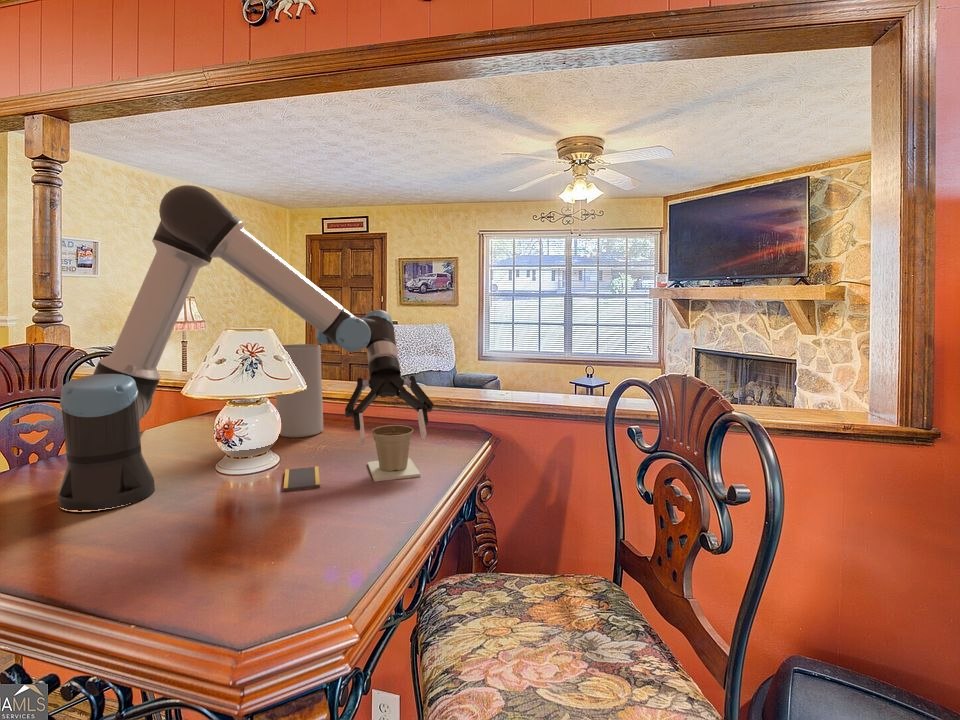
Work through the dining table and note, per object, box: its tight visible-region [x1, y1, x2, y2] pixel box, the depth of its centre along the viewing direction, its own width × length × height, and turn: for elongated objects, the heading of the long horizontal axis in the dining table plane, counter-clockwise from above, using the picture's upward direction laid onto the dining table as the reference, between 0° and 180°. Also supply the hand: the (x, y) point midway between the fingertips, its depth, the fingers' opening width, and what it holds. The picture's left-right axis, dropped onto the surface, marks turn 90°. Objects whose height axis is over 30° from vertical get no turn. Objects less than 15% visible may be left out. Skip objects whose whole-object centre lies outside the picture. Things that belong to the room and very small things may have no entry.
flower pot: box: [370, 424, 415, 471], centre depth 117 cm, size 9×9×9 cm
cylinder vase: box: [275, 343, 324, 439], centre depth 148 cm, size 12×12×25 cm
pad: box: [367, 457, 421, 482], centre depth 117 cm, size 10×12×1 cm
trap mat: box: [283, 465, 321, 492], centre depth 111 cm, size 7×12×1 cm, turn 19°
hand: (394, 439), depth 115 cm, fingers open, 13 cm apart
